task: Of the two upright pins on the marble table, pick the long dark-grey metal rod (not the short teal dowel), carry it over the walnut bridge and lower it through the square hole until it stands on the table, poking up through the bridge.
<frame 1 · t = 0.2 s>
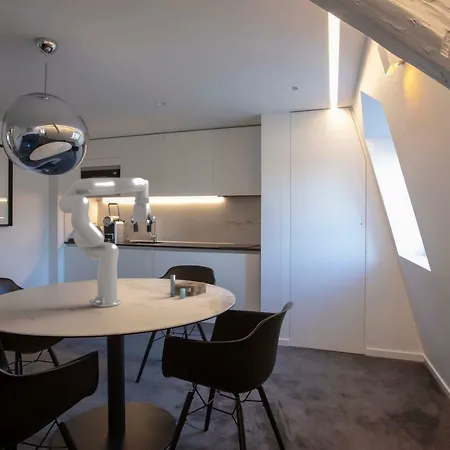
hand: (142, 232, 203), 36 cm above the table, fingers open, 9 cm apart
long pin: (172, 296, 201), on the table
short pin: (182, 298, 197), on the table
bridge: (190, 292, 211), on the table
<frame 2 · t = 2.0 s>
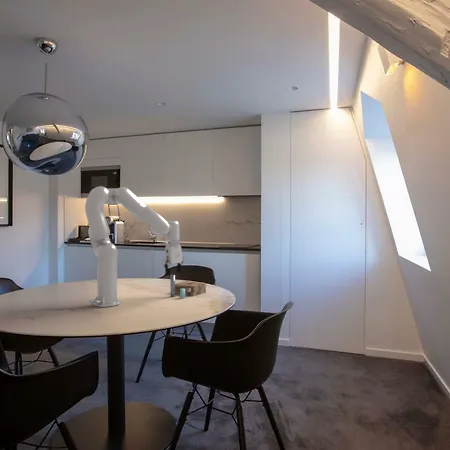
hand: (173, 273, 201), 13 cm above the table, fingers open, 9 cm apart
nothing on the table moved.
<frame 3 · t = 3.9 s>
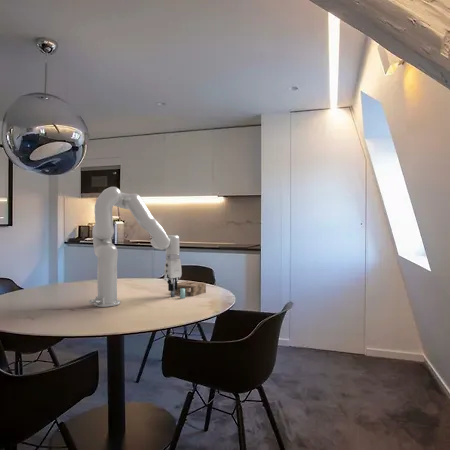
hand: (172, 290, 201), 4 cm above the table, fingers closed on long pin, 2 cm apart
long pin: (172, 296, 201), on the table, touching gripper
everything else where it was.
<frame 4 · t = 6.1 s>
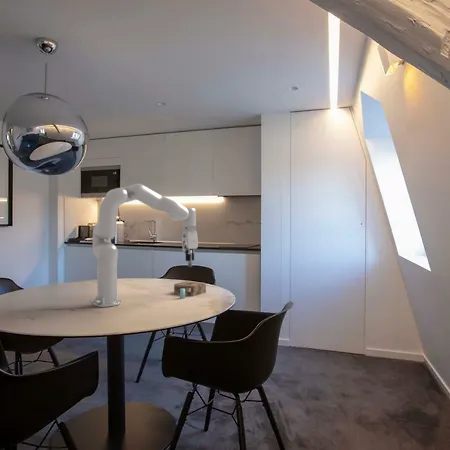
hand: (189, 260, 210), 19 cm above the table, fingers closed on long pin, 2 cm apart
long pin: (189, 266, 210), point 16 cm above the table, touching gripper
everything else where it was.
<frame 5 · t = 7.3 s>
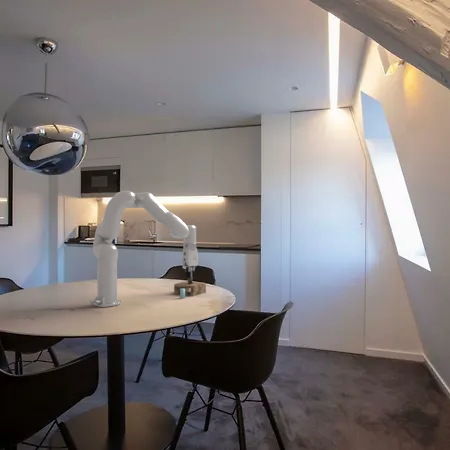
hand: (190, 277, 211), 9 cm above the table, fingers closed on long pin, 2 cm apart
long pin: (190, 283, 211), point 5 cm above the table, touching gripper
everything else where it was.
when the fingers open (6 cm above the table, at t = 8.4 s): long pin drops 3 cm, on the table.
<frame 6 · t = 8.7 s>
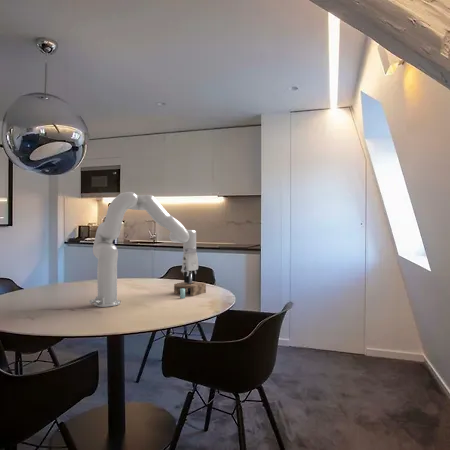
hand: (190, 281, 211), 7 cm above the table, fingers open, 5 cm apart
long pin: (189, 293, 211), on the table
everything else where it was.
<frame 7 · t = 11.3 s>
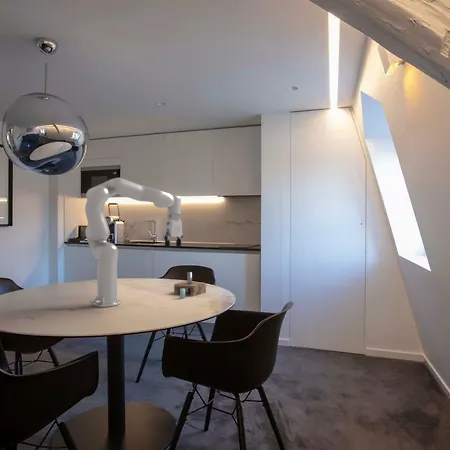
hand: (173, 247, 207), 27 cm above the table, fingers open, 9 cm apart
nothing on the table moved.
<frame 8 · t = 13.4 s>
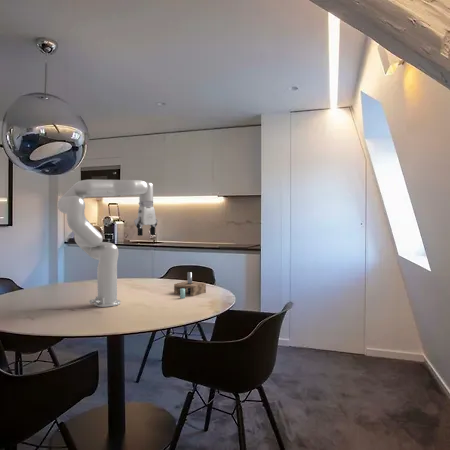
hand: (146, 235, 201), 34 cm above the table, fingers open, 9 cm apart
nothing on the table moved.
at the end: long pin 0.3 cm off-centre on the bridge, point 0.0 cm above the bridge's base; long pin tilted 0°; short pin moved 0.0 cm from its start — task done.
